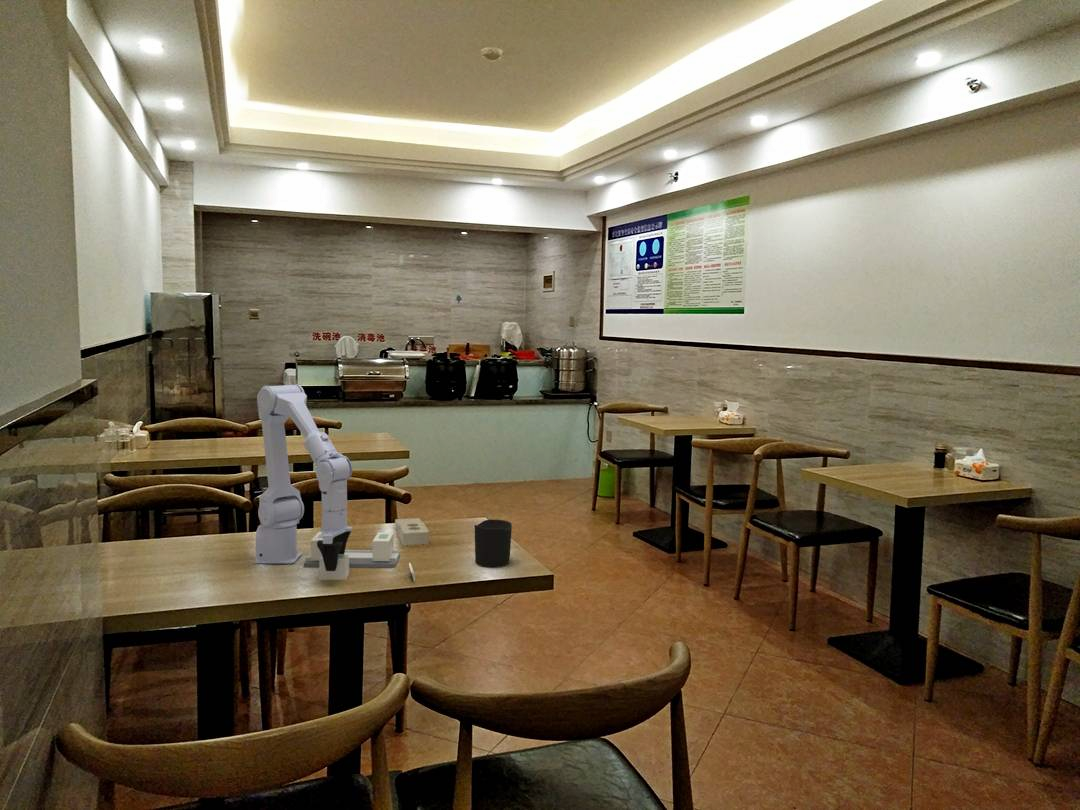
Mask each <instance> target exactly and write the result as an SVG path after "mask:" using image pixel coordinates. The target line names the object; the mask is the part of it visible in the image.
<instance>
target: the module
mask: <svg viewBox="0 0 1080 810" xmlns="http://www.w3.org/2000/svg"><path fill="white" fill-rule="evenodd" d="M318 568H319V580H320V581H346V580H347V578H348V577H349V576H350V568H349V554H339V555H338V562H337V568H336V570H335V571H326V568H325V565H324V560H323V557H321V558H320V559H319V567H318Z"/></svg>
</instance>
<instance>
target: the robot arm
mask: <svg viewBox="0 0 1080 810" xmlns="http://www.w3.org/2000/svg"><path fill="white" fill-rule="evenodd" d="M256 398H257V399H256V401H257V409H258V418H259V420H260V421H261V427H262V428H261V430H262V438H263V447H264V455H265V465H266V475H267V484H268V488H266V490H264V492H262V494H260V495H259V497H258V499H259V502H258V503H259V506H258V509H257V510H258V511H257V513H258V519H259V521H260V523H261V524H259V525H258V526H257V529H256V532H255V561H254V563H255V564H273V565H274V564H277V565H278V564H285V565H287V564H288V565H289V564H295V562H296V561H297V560H298V559H299V558H300V557H301V556H302V555H303V553H302V552H298V541H297V539H298V538H297V535H298V533H297V532H298V530H297V527H298V526H297V525H298V524H300V520H301V519H302V518H303V516H304V513H305V505H304V502H303V501H302V497H301V491H300V490H299V489H297V488H296V487H295V486H293V485H292V484H291V477H290V474H291V473H290V467H289V466H290V465H289V456H288V455H289V454H288V447H287V438H286V437H287V436H286V428H285V423H286V421H287V420H288V419H289V418H290V419H291V420H292V422H293V423H294V425H295V426H296V427H297V429H298V430H299V431H300V433H301V434H302V435H303V437H304V438H305V439H304V440H305V441H304V448H305V450H306V451H307V454H309V457H310V458H311V459H312V461H313V463H314V464H315V466H316V469H315V476H316V479H317V480H318V488H319V490H320V492H321V527H320V532H322V534H323V540H319V541H318V542H317V547H318V548H319V550H320V552H321V554H322V557H323V560H324V565H325V568H326V571H335V570H336V568H337V562H338V555H339V554H344V553H345V550H346V547H347V543H348V540H349V537H350V535H351V533H352V531H353V526H348V480H350V479H351V477H352V474H353V465H352V463H351V461H350V458H348V457H347V456H346V455H343V454H342V453H340V452H338V450H337V449H336V447H335V446H334V444H333V442H332V440H331V439H330V438H329V435H328V434H327V433H326V432H323V431H319V429H318V427H317V423H315V420H314V419H313V416H312V415H311V412H310V411H309V409H308V406H307V402H308V395H307V394H306V393H305V390H304V388H303V387H302V386H301V385H300V384H297V383H294V384H285V385H284V384H283V385H264V386H262V387H261V389H260V390H259V392H258V393H257V396H256Z"/></svg>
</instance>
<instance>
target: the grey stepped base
mask: <svg viewBox="0 0 1080 810" xmlns="http://www.w3.org/2000/svg"><path fill="white" fill-rule="evenodd" d="M394 536H395V532H389V531H388V532H384V531H383V532H380V531H378V532H377V533H376V535H375V536H374V538H373V540H372V549H345V553H344V554H349V569H351V568H352V569H353V568H354V569H355V568H357V569H358V568H360V569H361V568H362V569H363V568H366V569H367V568H368V569H371V568H372V569H375V568H376V569H377V568H378V569H395V568H396V566H397V563H398V561H399V559H400V556H401V551H400V550H396V549H395V545H394V543H395V542H394V540H395V537H394ZM319 540H323V534H322V532H321V531H318V532H317V533H316V535H314V536H313V537H312V538H311V540H310V554H309V555H308V556H306V557H305V561H304V562H303V568H319V559H320V558H321V557H322V554H321V552H320V550H319V548H318V547H317V542H318V541H319Z"/></svg>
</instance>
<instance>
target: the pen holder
mask: <svg viewBox="0 0 1080 810" xmlns="http://www.w3.org/2000/svg"><path fill="white" fill-rule="evenodd" d="M512 527H513V525H512V523H511V522H510V521H507V520H503V519H485V520H483V521H481V522H480V523H478V524H474V556H475V558H474V559H475V560H474V561H475V563H476V564H477V565H478V566H480V567H484V568H501V567H505V566H508V564H509V563H510V559H511V547H512V546H511V542H512Z"/></svg>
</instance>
